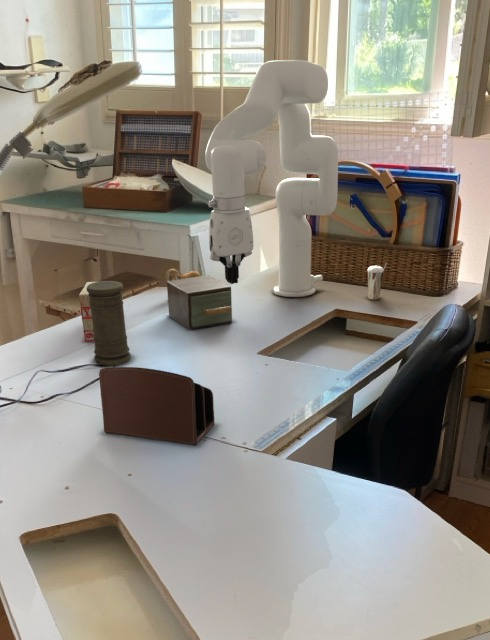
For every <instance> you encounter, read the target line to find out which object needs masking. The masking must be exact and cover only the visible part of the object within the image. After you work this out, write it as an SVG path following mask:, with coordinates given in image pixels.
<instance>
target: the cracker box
mask: <svg viewBox="0 0 490 640" xmlns="http://www.w3.org/2000/svg"><path fill="white" fill-rule="evenodd" d="M95 282H96V281H87V282H86V283H85V285H84V286H83V288H82V290H81V291H80V292H79V294H78V296H79V306H80V314H81V321H82V328H83V330H82V331H83V339H84V342H85V343H86V342H87V343H91V342H93V343H94V331H93V323H92V315H91V307H90V298H89V295H88V294H89V293H88V292H87V286H88V285H89V284H91V283H95Z"/></svg>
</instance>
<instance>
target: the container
mask: <svg viewBox="0 0 490 640" xmlns="http://www.w3.org/2000/svg"><path fill="white" fill-rule="evenodd" d="M94 282H95V283H91V284H89V285H88V286H87V292H88V293H89V294H88V295H89V298H90V307H91V315H92V323H93V331H94V342H93V343H94V350H93V353H94V355H93V359H94V362H95V363H96V364H97V365H100V366H106V367H116V366H120V365H124V364H127V363H128V362H130V360H131V358H132V355H131V352H130V351H131V349H130V347H129V346H128V344H129V343H128V336H127V330H126V320H125V311H124V301H123V293H124V292H123V289H124V285H123V283H122V282H120V281H115V280H102V281H94Z"/></svg>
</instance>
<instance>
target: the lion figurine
mask: <svg viewBox="0 0 490 640" xmlns="http://www.w3.org/2000/svg"><path fill="white" fill-rule="evenodd" d="M199 276H202V275H201V274H200V272H199V271H197V270H192V271H189V272H187V273H182V272H180V271H179V270H177V269H176V268H173V267H172V268H170V269H168V270H167V271H166V272H165V280H166V282H167V281H172V280H179V279H186V278H193V277H199Z"/></svg>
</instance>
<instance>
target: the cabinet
mask: <svg viewBox="0 0 490 640" xmlns="http://www.w3.org/2000/svg"><path fill="white" fill-rule="evenodd" d="M166 290H167V305H168V316H169V317H170V318H171V319H173V320H174V321H176V322H178V323H179V324H180V325H182V326H183V327H185V328H187V329H188V330H195V329H201V328H207V327H213V326H219V325H224V324H230V323H233V319H232V320H231V321H225V322H220V323H214V324H208V325H202V326H197V327H193V326H192V324H191V305H190V296H193V295H199V294H205V293H212V292H218V291H224V290H225V291H228V290H229V291H231V292H232V286H231V285H229V284H227V283H225V282H223V281H221V280H219V279H217V278H215V277H213V276H212V275H209V274H207V275H201V276H199V277H193V278H186V279H179V280H172V281H167V280H166ZM232 305H233V303H232V301H231V307H232ZM232 308H233V307H232Z"/></svg>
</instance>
